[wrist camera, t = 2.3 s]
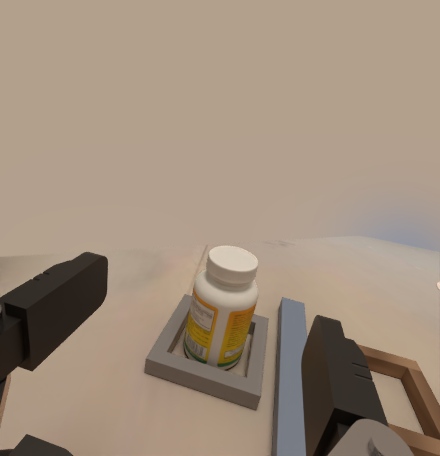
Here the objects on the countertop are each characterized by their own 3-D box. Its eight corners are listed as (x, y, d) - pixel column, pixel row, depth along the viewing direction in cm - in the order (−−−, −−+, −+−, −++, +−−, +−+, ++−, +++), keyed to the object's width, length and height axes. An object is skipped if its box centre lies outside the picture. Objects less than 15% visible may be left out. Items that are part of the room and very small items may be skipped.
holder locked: (326, 433, 21) (332, 420, 20) (315, 344, 29) (319, 333, 28) (460, 479, 19) (471, 466, 19) (409, 372, 28) (416, 361, 27)
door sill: (312, 502, 17) (320, 488, 16) (269, 487, 17) (276, 472, 16) (300, 313, 33) (304, 303, 33) (279, 307, 34) (282, 297, 33)
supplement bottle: (177, 367, 24) (193, 267, 20) (188, 323, 29) (203, 236, 25) (241, 379, 24) (269, 281, 20) (241, 333, 29) (264, 248, 25)
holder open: (144, 372, 23) (145, 358, 22) (183, 305, 31) (184, 294, 30) (256, 410, 21) (260, 396, 21) (265, 330, 30) (268, 318, 29)
